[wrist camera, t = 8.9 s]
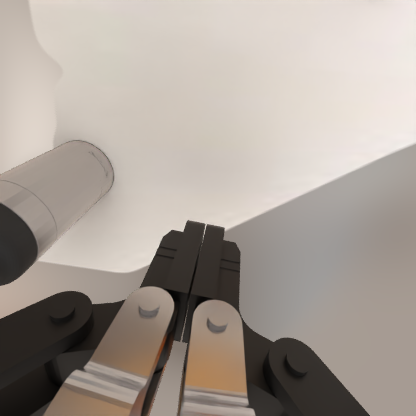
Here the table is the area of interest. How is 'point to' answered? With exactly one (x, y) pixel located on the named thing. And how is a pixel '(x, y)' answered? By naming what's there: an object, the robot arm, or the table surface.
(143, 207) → the table surface
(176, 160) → the table surface
